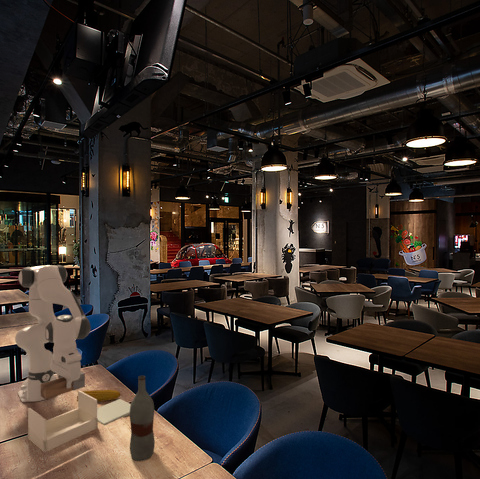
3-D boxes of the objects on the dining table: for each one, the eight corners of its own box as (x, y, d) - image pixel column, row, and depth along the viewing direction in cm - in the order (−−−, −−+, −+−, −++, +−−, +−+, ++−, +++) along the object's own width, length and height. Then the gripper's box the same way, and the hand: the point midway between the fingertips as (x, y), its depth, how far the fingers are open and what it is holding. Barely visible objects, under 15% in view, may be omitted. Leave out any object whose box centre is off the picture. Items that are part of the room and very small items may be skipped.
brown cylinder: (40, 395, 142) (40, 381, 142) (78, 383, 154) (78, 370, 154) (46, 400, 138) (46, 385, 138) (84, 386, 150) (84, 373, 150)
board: (86, 415, 162) (86, 412, 162) (119, 401, 176) (119, 398, 176) (104, 426, 152) (104, 423, 152) (138, 410, 166) (138, 407, 166)
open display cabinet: (27, 439, 142) (27, 408, 142) (79, 417, 159) (79, 390, 159) (44, 454, 132) (44, 420, 132) (97, 429, 149) (97, 399, 150)
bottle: (130, 464, 125) (130, 383, 125) (128, 451, 133) (127, 374, 134) (156, 458, 129) (156, 378, 129) (152, 445, 137) (152, 370, 137)
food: (76, 406, 172) (76, 394, 172) (78, 401, 177) (78, 389, 177) (120, 400, 177) (120, 389, 177) (121, 396, 182) (121, 385, 182)
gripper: (46, 350, 151) (46, 381, 150) (68, 360, 138) (68, 394, 138) (61, 347, 156) (61, 377, 155) (83, 356, 143) (83, 389, 143)
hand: (64, 385), depth 147 cm, fingers closed on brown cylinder, 5 cm apart
